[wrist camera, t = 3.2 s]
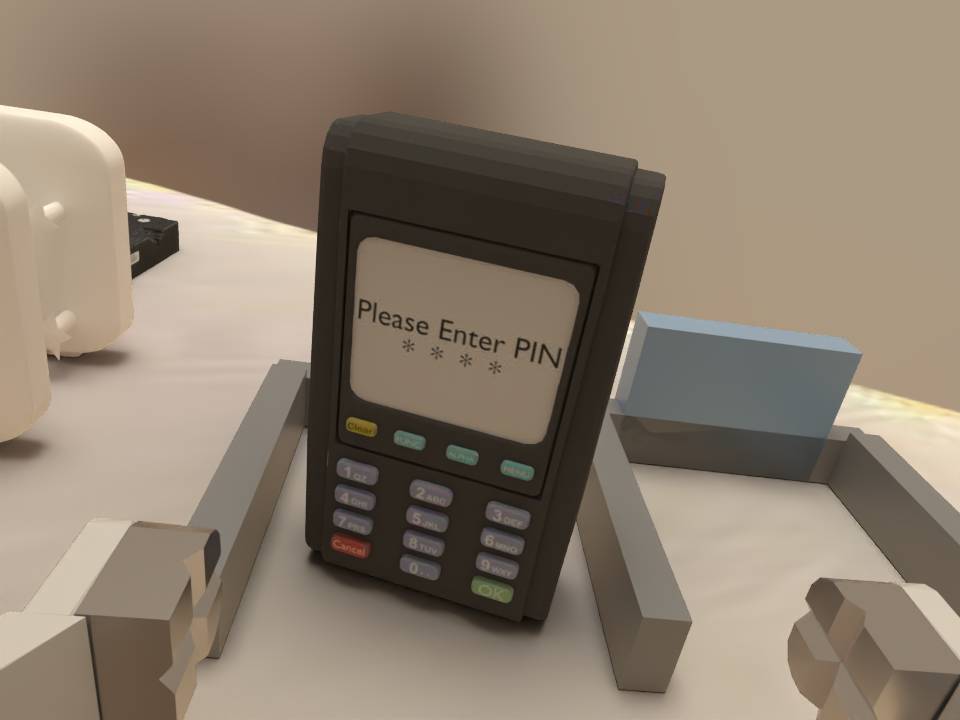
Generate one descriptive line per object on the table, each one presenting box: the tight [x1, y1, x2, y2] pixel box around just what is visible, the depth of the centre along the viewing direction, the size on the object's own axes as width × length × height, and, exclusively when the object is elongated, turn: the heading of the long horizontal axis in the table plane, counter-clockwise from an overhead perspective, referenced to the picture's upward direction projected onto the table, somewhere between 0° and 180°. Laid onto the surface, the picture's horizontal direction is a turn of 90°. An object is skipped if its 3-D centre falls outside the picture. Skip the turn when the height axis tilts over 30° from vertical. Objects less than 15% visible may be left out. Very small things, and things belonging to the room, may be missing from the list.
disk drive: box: [127, 212, 179, 279], centre depth 45 cm, size 10×3×15 cm
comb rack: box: [188, 311, 960, 693], centre depth 27 cm, size 28×15×7 cm, turn 92°
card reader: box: [305, 112, 666, 622], centre depth 22 cm, size 9×4×15 cm, turn 75°
